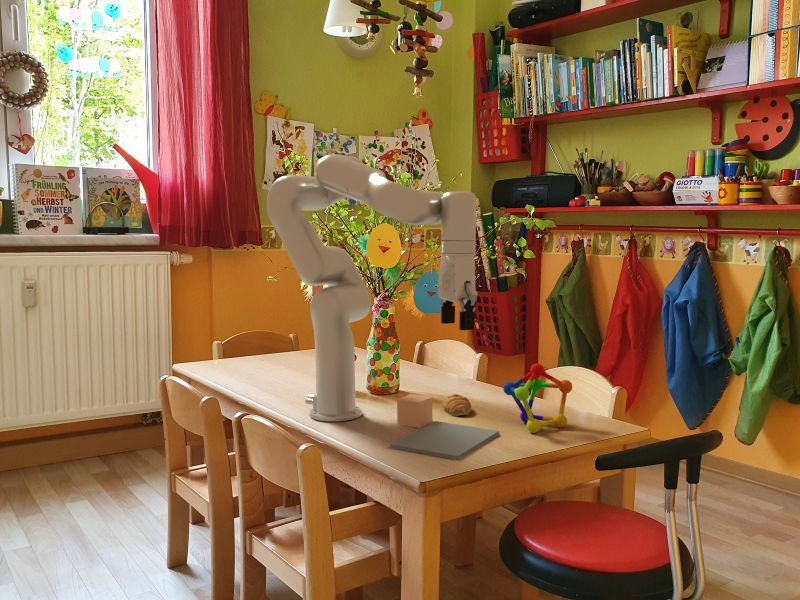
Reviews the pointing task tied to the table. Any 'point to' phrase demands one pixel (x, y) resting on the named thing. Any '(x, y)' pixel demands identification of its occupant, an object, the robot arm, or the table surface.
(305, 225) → the robot arm
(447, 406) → the pastry
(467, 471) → the table surface
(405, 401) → the cube
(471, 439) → the mat
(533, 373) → the educational toy
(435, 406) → the table surface
